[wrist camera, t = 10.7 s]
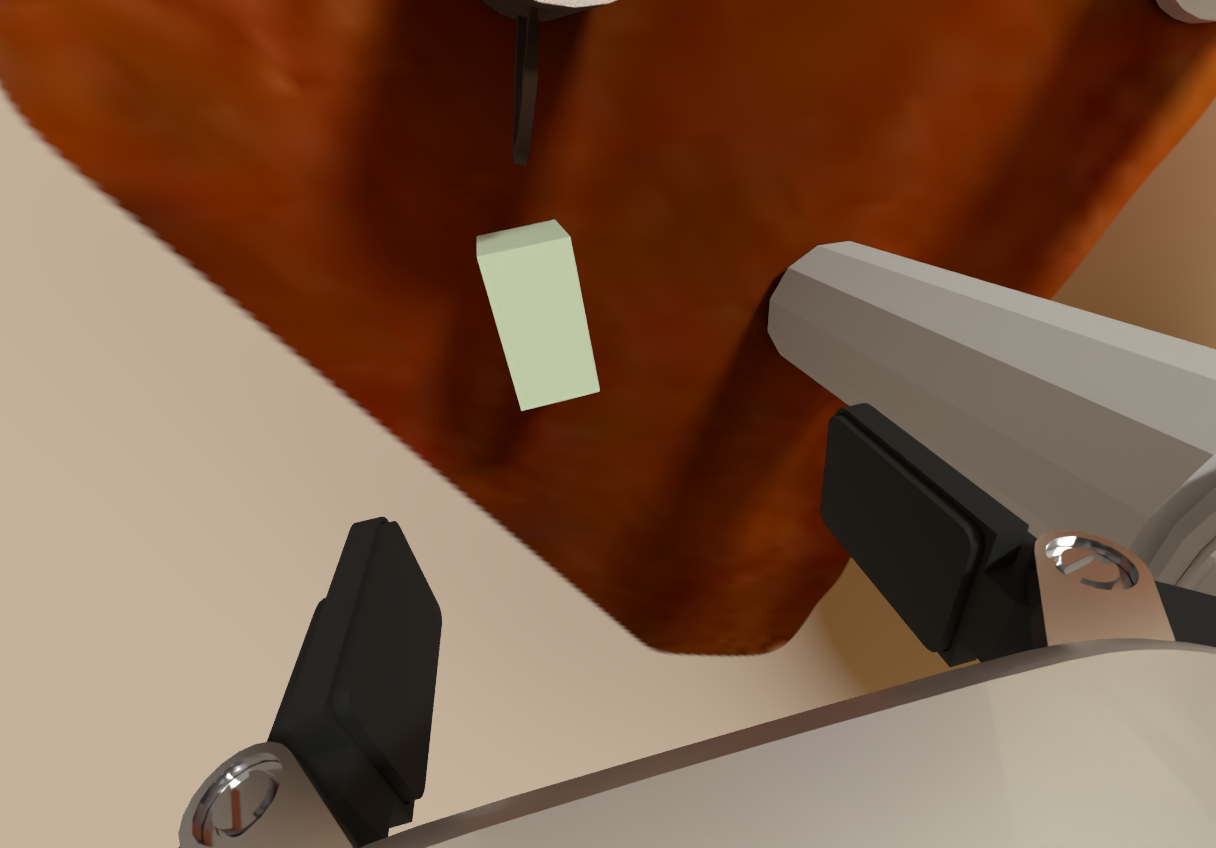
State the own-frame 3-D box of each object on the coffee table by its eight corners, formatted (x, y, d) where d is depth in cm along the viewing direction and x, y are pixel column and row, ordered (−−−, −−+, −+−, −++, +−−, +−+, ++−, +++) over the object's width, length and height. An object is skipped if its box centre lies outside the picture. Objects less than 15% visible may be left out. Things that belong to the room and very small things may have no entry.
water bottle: (741, 360, 30) (1344, 885, 9) (784, 221, 27) (1930, 560, 6) (869, 371, 33) (1573, 805, 12) (924, 245, 29) (2084, 543, 8)
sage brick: (476, 236, 20) (476, 256, 17) (554, 219, 21) (570, 236, 17) (514, 370, 23) (521, 411, 20) (582, 354, 24) (600, 391, 20)
